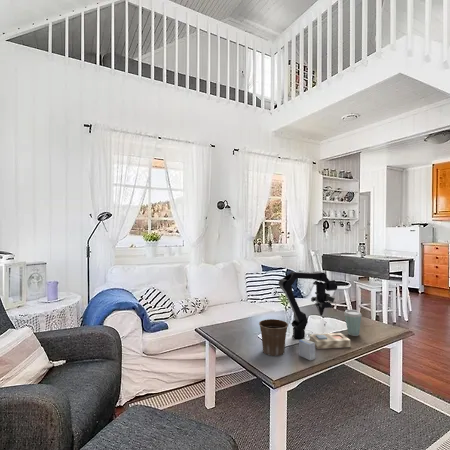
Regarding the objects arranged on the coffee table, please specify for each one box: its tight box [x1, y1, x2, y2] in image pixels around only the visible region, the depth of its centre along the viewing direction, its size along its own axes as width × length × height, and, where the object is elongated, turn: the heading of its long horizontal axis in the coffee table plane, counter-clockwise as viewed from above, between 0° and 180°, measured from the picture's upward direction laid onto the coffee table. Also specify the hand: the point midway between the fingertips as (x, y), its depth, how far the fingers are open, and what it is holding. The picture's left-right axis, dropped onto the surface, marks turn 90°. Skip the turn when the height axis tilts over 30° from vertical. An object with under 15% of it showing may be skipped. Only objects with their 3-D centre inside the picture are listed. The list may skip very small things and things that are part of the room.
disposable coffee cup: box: [343, 309, 363, 337], centre depth 198 cm, size 11×11×15 cm
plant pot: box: [258, 318, 289, 357], centre depth 173 cm, size 16×16×16 cm
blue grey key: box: [316, 335, 327, 340], centre depth 183 cm, size 5×5×3 cm
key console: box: [309, 332, 351, 350], centre depth 183 cm, size 20×12×4 cm, turn 96°
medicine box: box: [298, 338, 316, 361], centre depth 165 cm, size 8×4×9 cm, turn 33°
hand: (321, 315), depth 197 cm, fingers closed
